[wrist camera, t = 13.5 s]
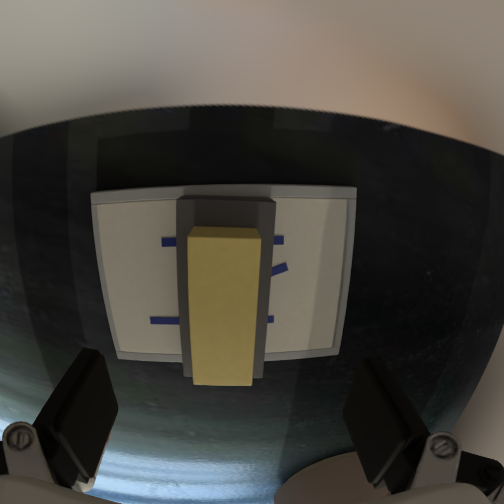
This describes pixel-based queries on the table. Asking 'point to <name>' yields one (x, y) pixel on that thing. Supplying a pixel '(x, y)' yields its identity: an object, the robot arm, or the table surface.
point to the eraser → (224, 285)
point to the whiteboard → (282, 277)
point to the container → (330, 483)
